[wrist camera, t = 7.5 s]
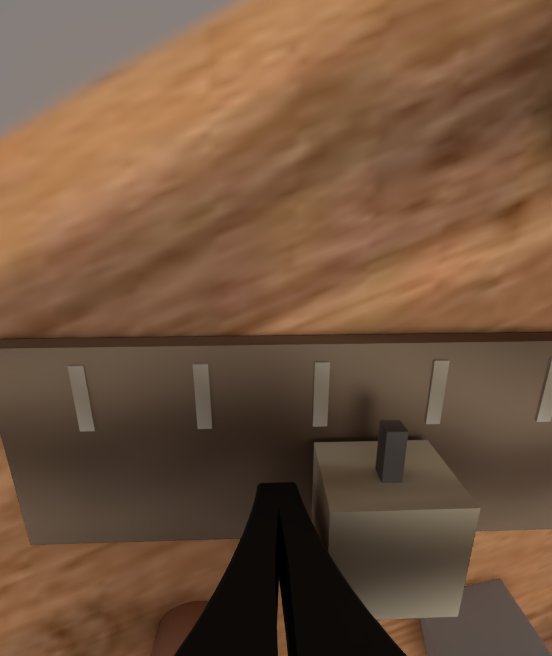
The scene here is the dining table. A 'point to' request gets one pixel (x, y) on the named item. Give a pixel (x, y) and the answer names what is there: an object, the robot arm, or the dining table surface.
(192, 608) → the terracotta cylinder
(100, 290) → the dining table surface
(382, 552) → the birch slider
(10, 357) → the board
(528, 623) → the grey cube
